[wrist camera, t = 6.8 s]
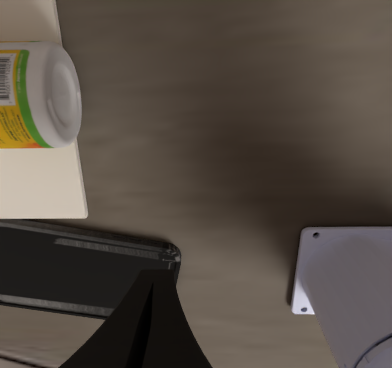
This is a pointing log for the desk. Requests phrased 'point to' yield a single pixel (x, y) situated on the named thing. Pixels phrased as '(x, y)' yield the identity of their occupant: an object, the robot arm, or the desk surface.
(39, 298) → the phone
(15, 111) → the supplement bottle
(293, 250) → the desk surface
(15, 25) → the sticky note pad
